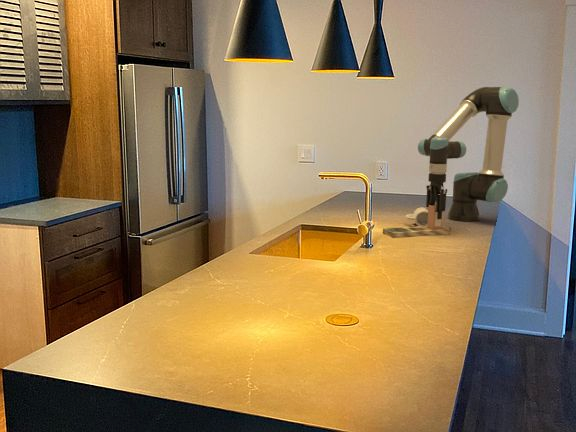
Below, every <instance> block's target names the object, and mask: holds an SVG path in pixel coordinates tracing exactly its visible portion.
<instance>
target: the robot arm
mask: <svg viewBox="0 0 576 432" xmlns="http://www.w3.org/2000/svg"><path fill="white" fill-rule="evenodd" d="M519 105H520V103H519V95H518V93H517V91H516V90H515V89H514V88H513V87H508V86H483V87H480V88H477V89H475V90H473V91H472V92H470V93H468V95H467V96H465V97H464V98H463V99H462V100H461V101H460V102H459V106H458V107H457V108H456V109H455V111H453V113H452V114H451V115H449V116H448V118H447V119H446V120H445V121H444V122H443V123H442V124H441V125H440V126H439V127H438V129H437V130H436V131H435V132H434V133H433V134H431V136H430V137H428V138H425V139H421V140H420V141H419V142H418V145H417V151H418V153H419V154H420V155H422V156H425V157H429V162H428V163H429V165H428V172H429V173H428V180H427V181H428V183H430V184H428V185H426V202H425V203H426V205H425V206H426V208H428V207H429V205H436V208H437V211H435V226H441V218H442V219H443V213H442V212H445V211H446V205H447V193H448V189H447V188H444V183H446V182H447V174H446V173H447V172H448V171H447V168H448V159H449V160H451V159H456V160H457V159H460V158H461V159H462V158H464V156H465V155H466V154H467V146H466V144H465V143H464V142H463V141H460V140H459V141H458V140H456V141H455V140H454V141H452V139H453V137H454V136H455V135H456V134H457V133H458V132H459V131H460V129H462V127H463V126H464V125H465V124H466V123H467V122H468V121H469V120H470V119H471V118H474V117H475V116H477V115H478V114H479V113H483V112H485V116H486V117H487V118H488V120H487V129H486V130H487V131H486V137H485V138H486V139H485V145H484V146H485V147H484V154H483V162H482V169H481V170H480V171H478V172H475V171H474V172H458V173H456V174H454V177H453V182H452V183H453V187H452V189H453V190H452V202H451V206H450V208H449V211H448V214H447V218H448V219H449V220H453V221H459V222H460V221H461V222H477V221H479V220H480V212H479V208H478V202H477V201H482V202H487V203H496V204H497V203H499V202H501V201H503V199H504V198H505V197H506V196H507V193H508V188H509V185H508V181H507V180H506V179H505V178H504V177H505V174H504V173H503V171H502V168H503V167H502V166H503V161H504V160H503V158H504V151H505V143H506V136H507V135H506V134H507V128H508V127H507V126H508V121H509V119H511V118H512V116H513V115H512V114H513V113H515V112H516V111H517V109H519V108H518V107H519ZM450 140H451V141H450Z"/></svg>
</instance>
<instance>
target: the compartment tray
mask: <svg viewBox="0 0 576 432" xmlns="http://www.w3.org/2000/svg"><path fill="white" fill-rule="evenodd" d="M382 234H385V235H387V236H388V237H391V238H394V239H395V238H409V237H410V238H412V237H425V236H440V235H451V229H449V228H447V227H445V226H442V229H435V230H432V229H429V228H427V226H418V225H417V226H404V227H403V226H401V227H390V228H388V227H387V228H382Z"/></svg>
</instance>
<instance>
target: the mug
mask: <svg viewBox="0 0 576 432" xmlns="http://www.w3.org/2000/svg"><path fill="white" fill-rule="evenodd" d="M405 219H407V220H411V221H414V223H415V224H416V225H417V226H427V225H428V208H427V207H426V208H425V207H424V206H423V207H422V206H421V207H418V208H416V209H415V210H414V211H413V213H411V214H410V213H409V214H406V215H405Z"/></svg>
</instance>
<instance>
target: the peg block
mask: <svg viewBox="0 0 576 432" xmlns="http://www.w3.org/2000/svg"><path fill="white" fill-rule="evenodd" d="M427 209H428V225H427V228H429V229H432V230H435V229H442V227H443V217H442V218H441V226H435V211H437V208H436V204H435V205H429V207H427ZM443 212H444V211H443ZM443 212H442V214H443Z"/></svg>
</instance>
